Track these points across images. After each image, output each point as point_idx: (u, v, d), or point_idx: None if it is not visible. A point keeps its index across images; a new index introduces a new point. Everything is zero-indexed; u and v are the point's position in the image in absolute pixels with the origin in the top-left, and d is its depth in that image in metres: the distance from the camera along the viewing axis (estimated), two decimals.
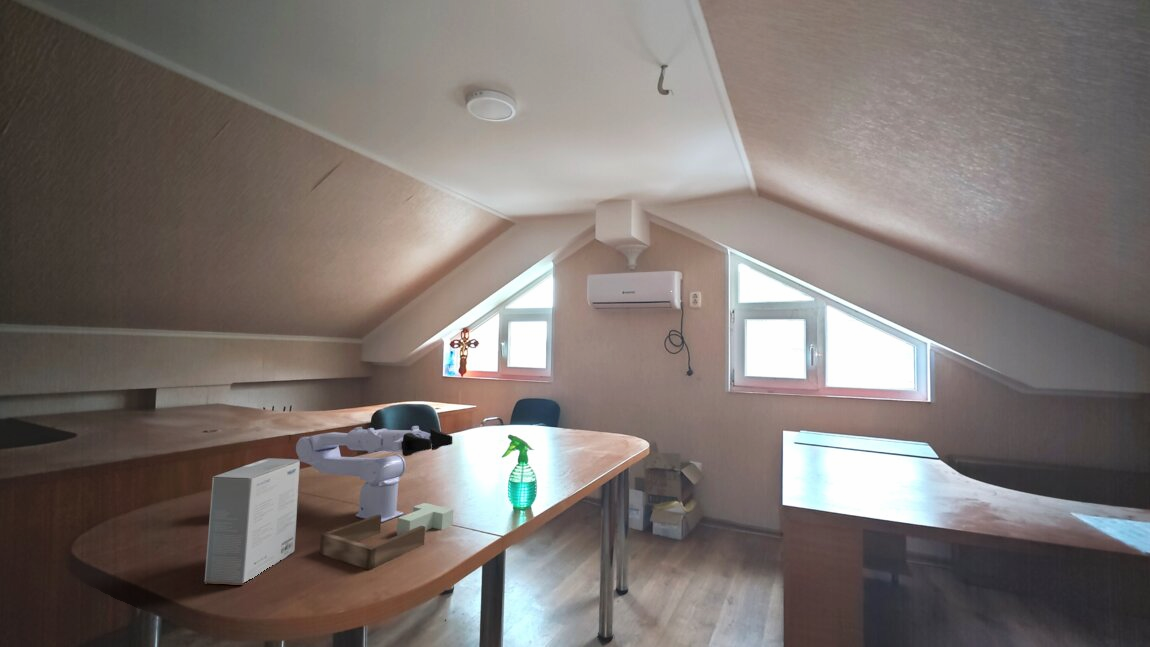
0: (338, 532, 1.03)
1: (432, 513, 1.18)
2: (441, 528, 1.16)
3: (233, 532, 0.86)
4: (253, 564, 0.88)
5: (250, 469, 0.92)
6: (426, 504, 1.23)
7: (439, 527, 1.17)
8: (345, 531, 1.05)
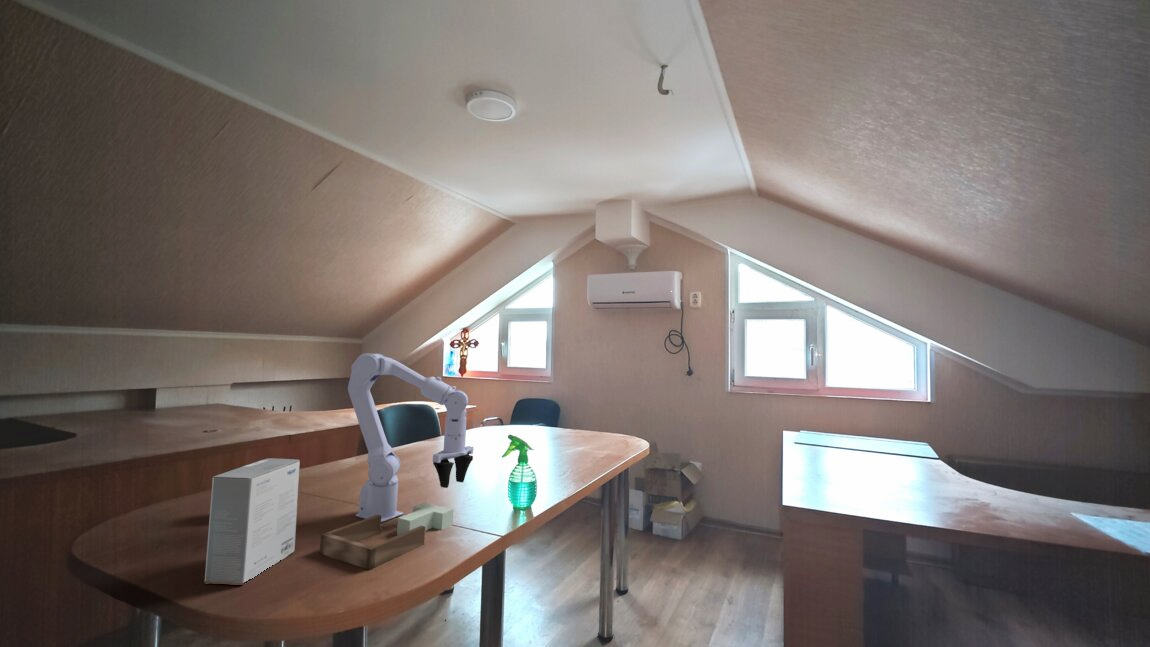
0: (338, 532, 1.03)
1: (432, 513, 1.18)
2: (441, 528, 1.16)
3: (233, 532, 0.86)
4: (253, 564, 0.88)
5: (250, 469, 0.92)
6: (426, 504, 1.23)
7: (439, 527, 1.17)
8: (345, 531, 1.05)
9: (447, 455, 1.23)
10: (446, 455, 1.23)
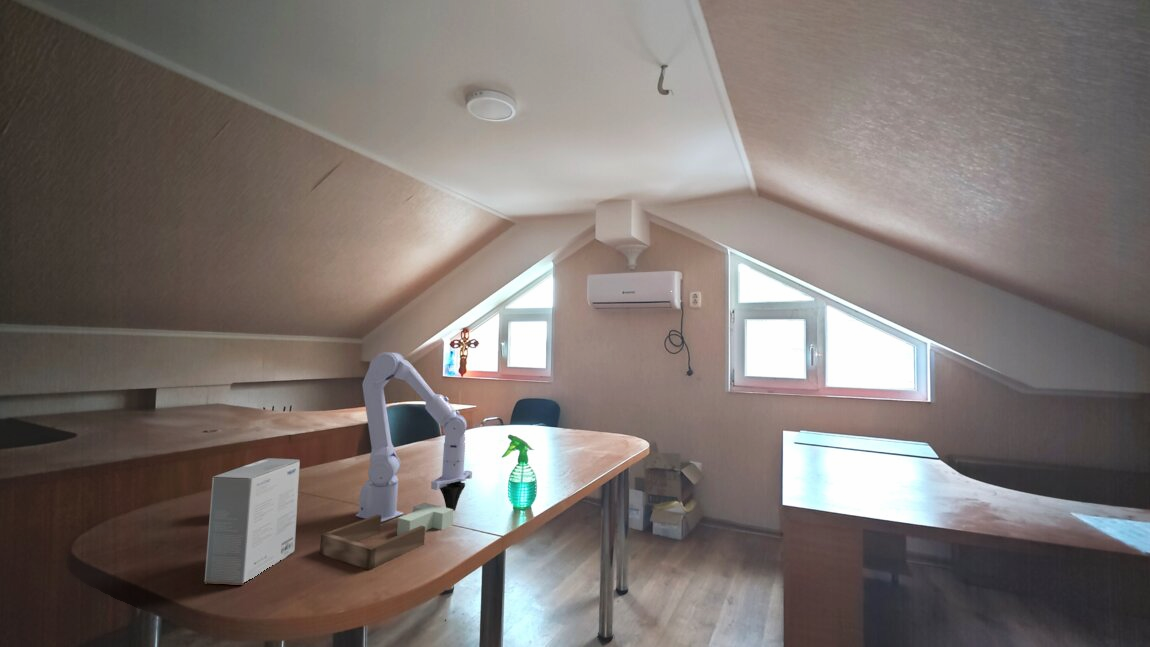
0: (338, 532, 1.03)
1: (432, 513, 1.18)
2: (441, 528, 1.16)
3: (233, 532, 0.86)
4: (253, 564, 0.88)
5: (250, 469, 0.92)
6: (426, 504, 1.23)
7: (439, 527, 1.17)
8: (345, 531, 1.05)
9: (445, 482, 1.23)
10: (444, 482, 1.22)
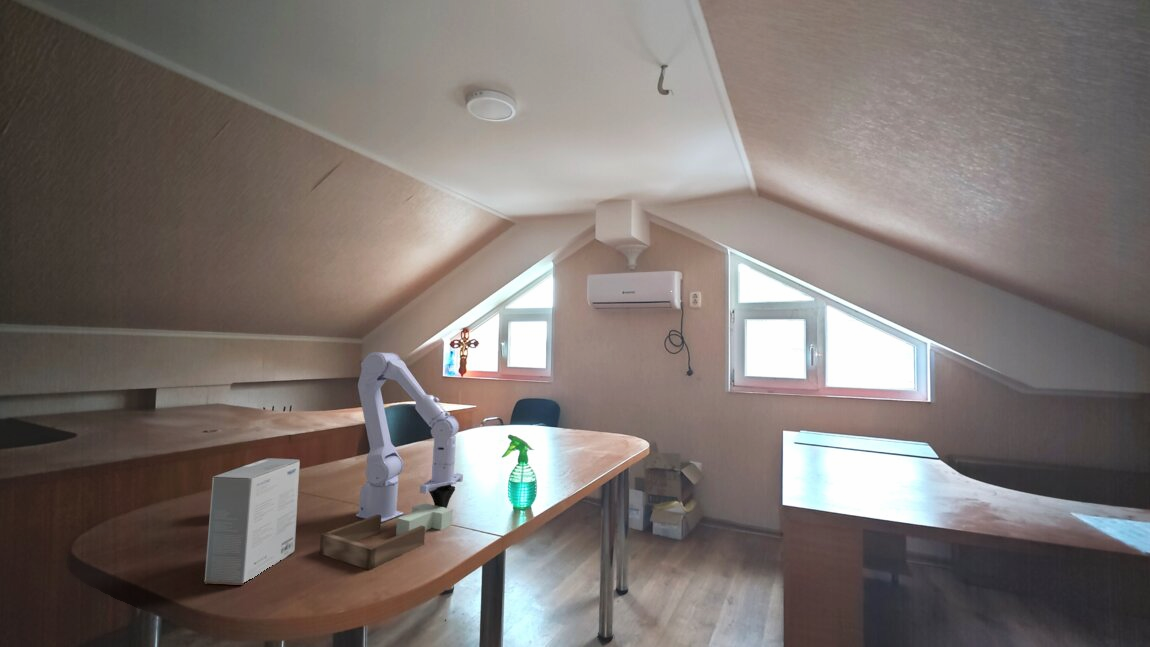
0: (338, 532, 1.03)
1: (431, 513, 1.17)
2: (440, 528, 1.16)
3: (233, 532, 0.86)
4: (253, 564, 0.88)
5: (250, 469, 0.92)
6: (425, 504, 1.23)
7: (438, 527, 1.16)
8: (345, 531, 1.05)
9: (435, 485, 1.19)
10: (434, 485, 1.19)
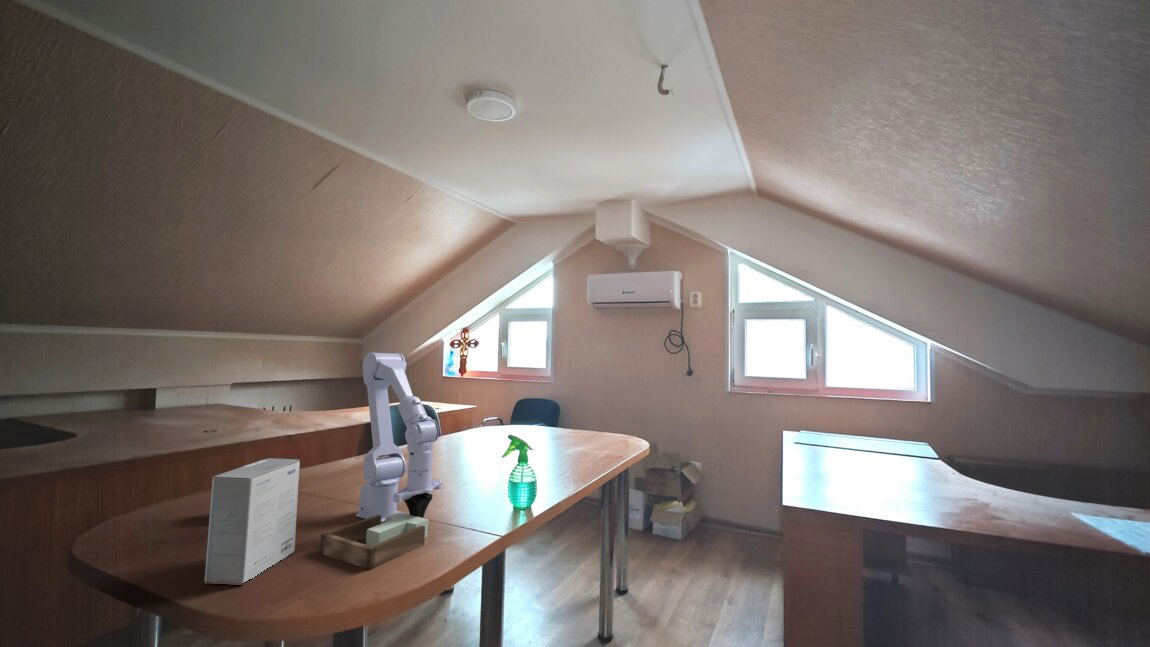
0: (338, 532, 1.03)
1: (405, 524, 1.09)
2: None
3: (233, 532, 0.86)
4: (253, 564, 0.88)
5: (250, 469, 0.92)
6: (400, 513, 1.15)
7: None
8: (345, 531, 1.05)
9: (410, 494, 1.11)
10: (408, 494, 1.11)
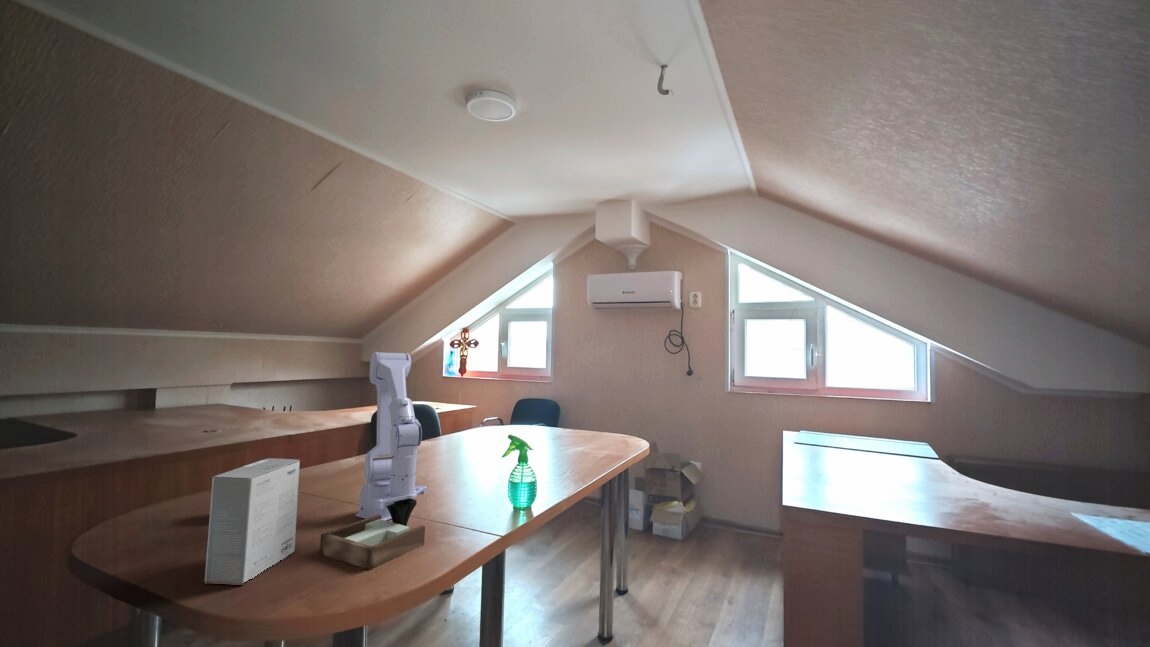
0: (338, 532, 1.03)
1: (385, 532, 1.04)
2: None
3: (233, 532, 0.86)
4: (253, 564, 0.88)
5: (250, 469, 0.92)
6: (381, 520, 1.10)
7: None
8: (345, 531, 1.05)
9: (391, 499, 1.06)
10: (390, 500, 1.06)
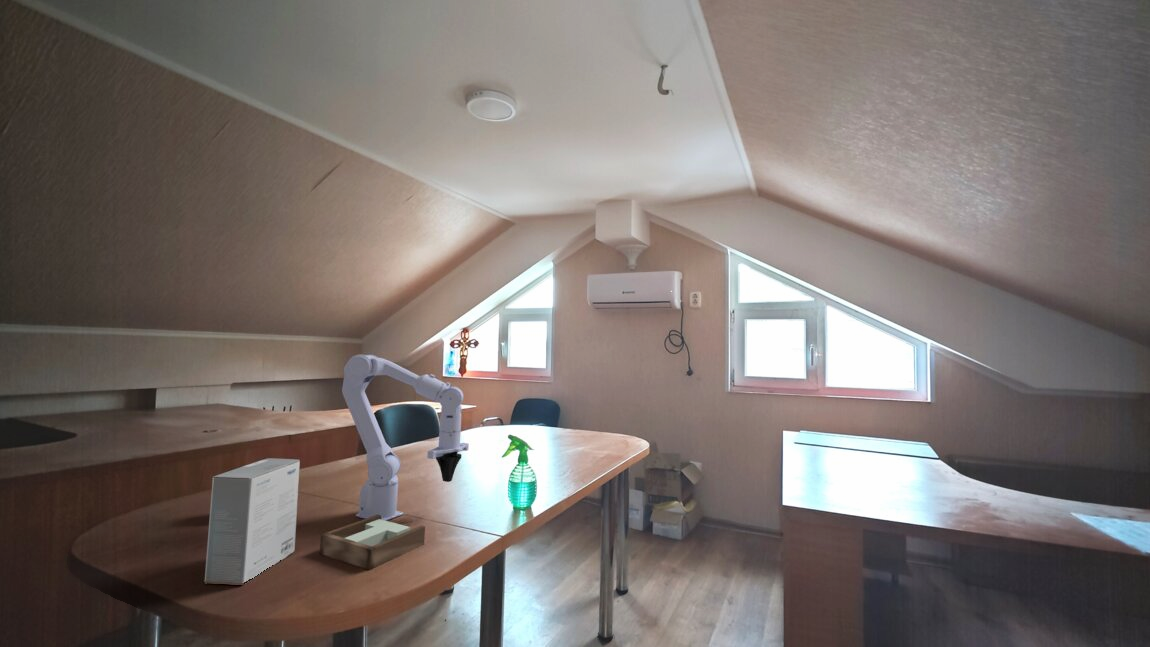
0: (338, 532, 1.03)
1: (385, 532, 1.04)
2: None
3: (233, 532, 0.86)
4: (253, 564, 0.88)
5: (250, 469, 0.92)
6: (381, 520, 1.10)
7: None
8: (345, 531, 1.05)
9: (442, 451, 1.23)
10: (441, 451, 1.23)
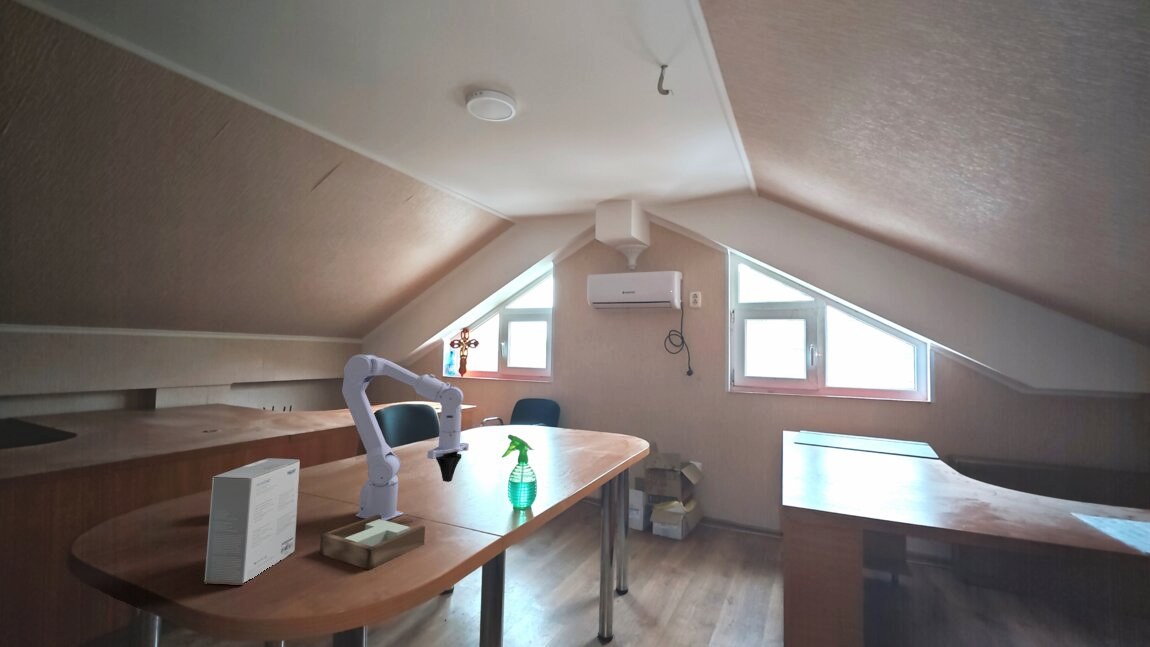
0: (338, 532, 1.03)
1: (385, 532, 1.04)
2: None
3: (233, 532, 0.86)
4: (253, 564, 0.88)
5: (250, 469, 0.92)
6: (381, 520, 1.10)
7: None
8: (345, 531, 1.05)
9: (442, 451, 1.23)
10: (441, 451, 1.23)
